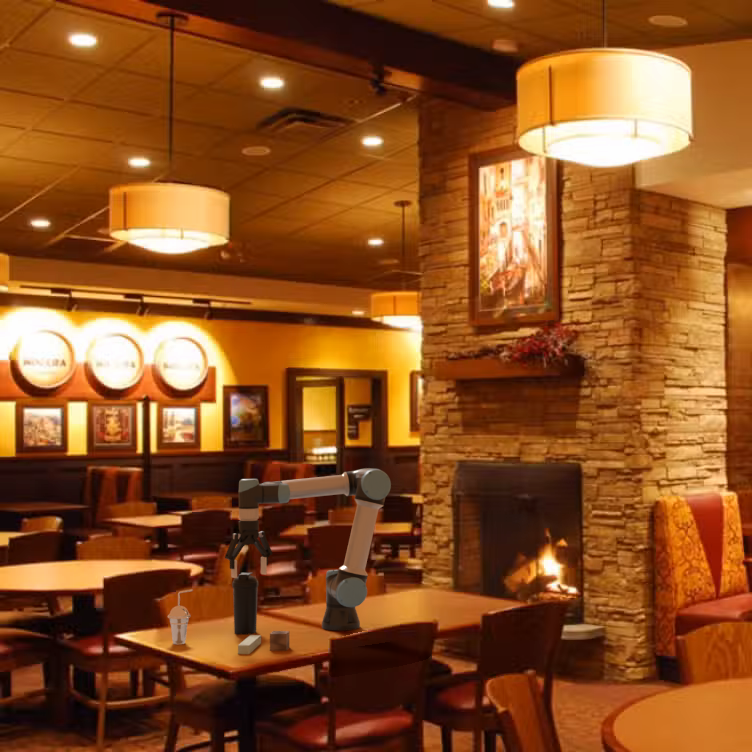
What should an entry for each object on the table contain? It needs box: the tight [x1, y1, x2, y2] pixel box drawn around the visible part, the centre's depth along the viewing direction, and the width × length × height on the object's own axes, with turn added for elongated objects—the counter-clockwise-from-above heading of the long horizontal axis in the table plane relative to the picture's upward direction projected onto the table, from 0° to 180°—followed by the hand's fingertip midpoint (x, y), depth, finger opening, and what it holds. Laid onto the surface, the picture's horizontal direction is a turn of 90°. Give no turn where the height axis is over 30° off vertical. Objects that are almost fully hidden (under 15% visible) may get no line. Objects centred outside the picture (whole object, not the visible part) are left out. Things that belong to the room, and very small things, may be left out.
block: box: [269, 630, 290, 652], centre depth 403 cm, size 6×6×6 cm
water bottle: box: [231, 572, 259, 635], centre depth 437 cm, size 10×10×23 cm
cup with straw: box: [167, 588, 194, 646], centre depth 415 cm, size 8×9×20 cm
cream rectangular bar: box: [237, 634, 262, 655], centre depth 404 cm, size 4×20×3 cm, turn 174°
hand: (249, 576), depth 424 cm, fingers open, 13 cm apart
